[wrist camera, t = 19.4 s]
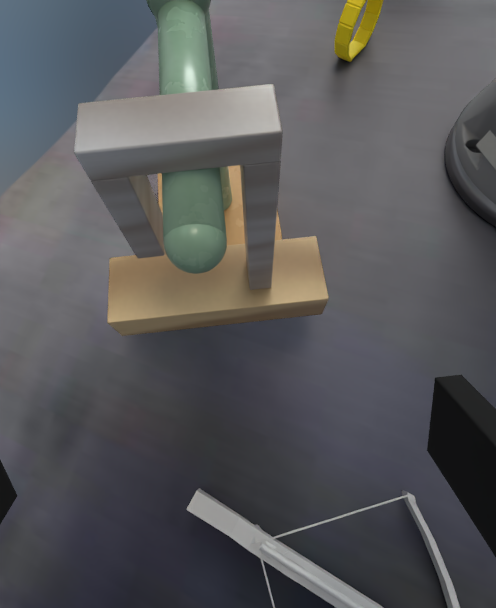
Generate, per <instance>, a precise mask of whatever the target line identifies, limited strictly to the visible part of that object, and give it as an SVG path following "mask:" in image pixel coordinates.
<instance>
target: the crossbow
mask: <svg viewBox="0 0 496 608" xmlns="http://www.w3.org/2000/svg"><path fill="white" fill-rule="evenodd" d="M401 491H402V496H401V497H398V498H395V499H392V500H388V501H385V502H382V503H379V504H376V505H373V506H369V507H366V508H363V509H360V510H357V511H354V512H350V513H347V514H344V515H341V516H338V517H335V518H331V519H328V520H325V521H322V522H319V523H316V524H312V525H309V526H306V527H303V528H300V529H297V530H293V531H290V532H287V533H284V534H281V535H278V536H274V537H272V536H271V535H269V534H267V533H266V532H264V531H263V530H262V529H261V528H260V526H259V525H257V524H256V525H254V524H252V523H251V522H249V521H248V520H247V519H245V518H244V517H242V516H241V515H239V514H238V513H236V512H235V511H233V510H232V509H230V508H229V507H227V506H226V505H224V504H223V503H221V502H220V501H218V500H217V499H215V498H214V497H212V496H210V495H209V494H207V493H206V492H204V491H203V490H201V489H200V488H199V489H198V490H197V491H196V493H195V495H194V497H193V498H192V500H191V502H190V504H189V506H188V508H187V509H186V510H188V511H189V512H191V513H192V514H194V515H196V516H197V517H199V518H200V519H202V520H204V521H205V522H207V523H209V524H210V525H212V526H213V527H215V528H217V529H218V530H220V531H221V532H223V533H225V534H226V535H228V536H230V537H231V538H232V539H234V540H235V541H236V542H238V543H239V544H240V545H242V546H243V547H244V548H246V549H247V550H248V551H250V552H251V553H253V554H254V555H256V556H258V557H259V558H261V562H262V566H263V570H264V574H265V578H266V582H267V585H268V589H269V593H270V597H271V601H272V605H273V608H275V605H274V602H273V598H272V594H271V590H270V586H269V582H268V579H267V575H266V571H265V567H264V563H263V560H264V561H265V562H267V563H268V564H270V565H271V566H273V567H275V568H276V569H278V570H279V571H281V572H282V573H283V574H285V575H286V576H288V577H289V578H291V579H292V580H294V581H295V582H298V583H299V584H301V585H302V586H304V587H305V588H307V589H308V590H310V591H311V592H313V593H315V594H316V595H318V596H319V597H321V598H322V599H324V600H325V601H327V602H328V603H330V604H332V605H333V606H335V607H336V608H384V607H382V606H381V605H379V604H378V603H376V602H374V601H373V600H371V599H370V598H368V597H366V596H365V595H363V594H362V593H360V592H359V591H357V590H355V589H354V588H352V587H351V586H349V585H348V584H346V583H344V582H343V581H341V580H340V579H338V578H337V577H335V576H333V575H332V574H330V573H329V572H327V571H326V570H324V569H322V568H321V567H319V566H318V565H316V564H315V563H313V562H311V561H310V560H308V559H307V558H305V557H304V556H302V555H300V554H299V553H297V552H296V551H294V550H293V549H291V548H289V547H288V546H286V545H285V544H283V543H282V542H280V541H278V540H277V539H275V538H278V537H281V536H285V535H288V534H291V533H294V532H297V531H300V530H304V529H307V528H310V527H313V526H316V525H319V524H323V523H326V522H329V521H332V520H335V519H338V518H342V517H345V516H348V515H351V514H354V513H357V512H361V511H364V510H367V509H370V508H373V507H376V506H380V505H383V504H386V503H389V502H392V501H395V500H399V499H402V498H403V499H404V501H405V503H406V504H407V506H408V508H409V510H410V512H411V514H412V516H413V518H414V520H415V522H416V524H417V526H418V528H419V530H420V532H421V534H422V537H423V539H424V542H425V544H426V547H427V549H428V552H429V554H430V557H431V559H432V562H433V564H434V567H435V569H436V572H437V574H438V577H439V580H440V583H441V587H442V590H443V593H444V597H445V600H446V603H447V607H448V608H460V606H459V603H458V599H457V596H456V593H455V590H454V587H453V584H452V581H451V579H450V577H449V574H448V572H447V569H446V567H445V564H444V562H443V559H442V557H441V555H440V552H439V550H438V547H437V545H436V542H435V540H434V538H433V536H432V534H431V532H430V530H429V528H428V526H427V525H426V523H425V521H424V519H423V517H422V515H421V513H420V511H419V509H418V507H417V505H416V501H415V496H413V495H412V494H410V493H408V492H406V491H403V490H401Z"/></svg>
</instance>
